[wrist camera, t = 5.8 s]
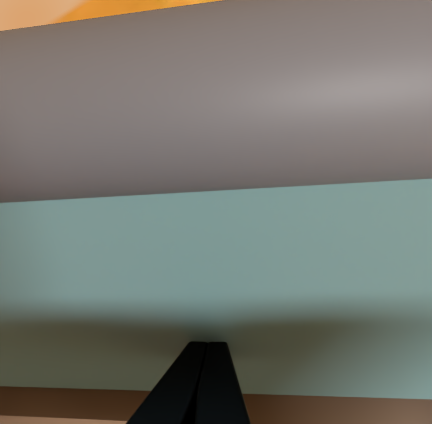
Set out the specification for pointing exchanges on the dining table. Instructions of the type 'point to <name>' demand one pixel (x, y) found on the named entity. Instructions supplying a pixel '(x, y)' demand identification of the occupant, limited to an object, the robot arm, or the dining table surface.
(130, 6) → the dining table surface
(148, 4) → the dining table surface
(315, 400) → the open wooden crate
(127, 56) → the panel
